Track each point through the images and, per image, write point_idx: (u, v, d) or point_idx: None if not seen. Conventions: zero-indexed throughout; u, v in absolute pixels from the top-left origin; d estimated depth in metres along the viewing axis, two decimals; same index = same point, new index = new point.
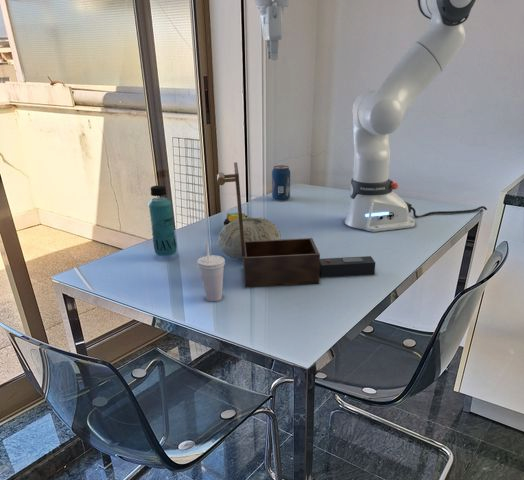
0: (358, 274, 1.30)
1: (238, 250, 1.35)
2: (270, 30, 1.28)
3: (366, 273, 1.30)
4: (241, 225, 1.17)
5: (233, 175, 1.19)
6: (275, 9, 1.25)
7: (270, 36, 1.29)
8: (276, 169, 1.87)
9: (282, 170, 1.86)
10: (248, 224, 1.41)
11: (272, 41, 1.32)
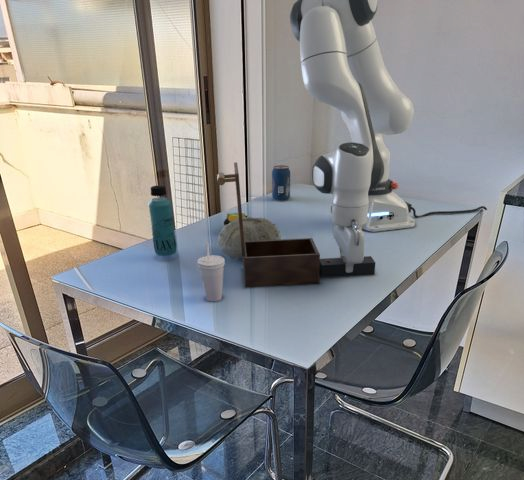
0: (358, 274, 1.30)
1: (238, 250, 1.35)
2: (351, 256, 1.19)
3: (366, 273, 1.30)
4: (241, 225, 1.17)
5: (233, 175, 1.19)
6: (358, 239, 1.17)
7: (350, 261, 1.20)
8: (276, 169, 1.87)
9: (282, 170, 1.86)
10: (248, 224, 1.41)
11: None
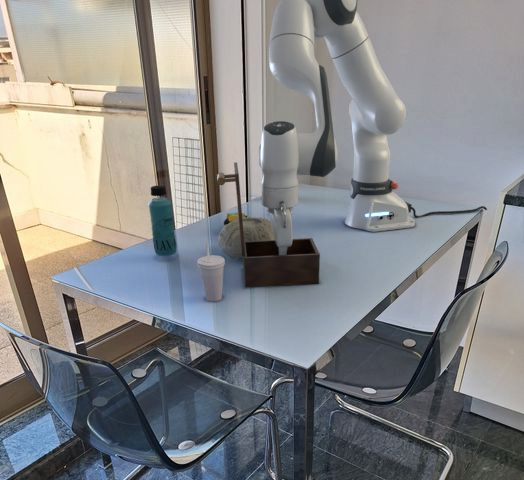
0: None
1: (238, 250, 1.35)
2: (279, 239, 1.16)
3: None
4: (241, 225, 1.17)
5: (233, 175, 1.19)
6: (284, 220, 1.13)
7: (279, 244, 1.16)
8: None
9: None
10: (248, 224, 1.41)
11: None
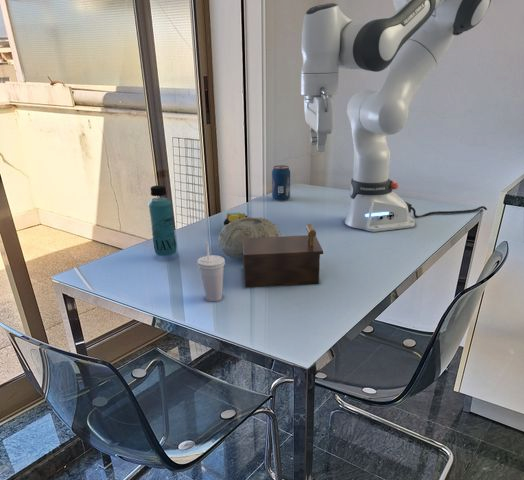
0: None
1: (238, 250, 1.35)
2: (319, 124, 1.15)
3: None
4: (275, 255, 1.22)
5: (310, 239, 1.28)
6: (326, 103, 1.12)
7: (319, 130, 1.15)
8: (276, 169, 1.87)
9: (282, 170, 1.86)
10: (248, 224, 1.41)
11: (320, 133, 1.19)
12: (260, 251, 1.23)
